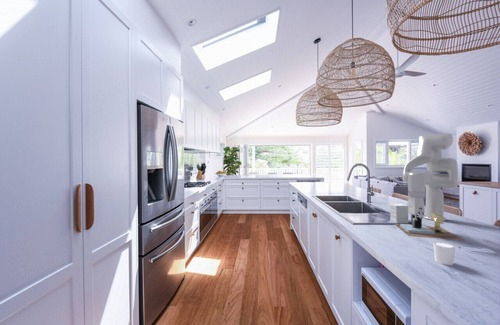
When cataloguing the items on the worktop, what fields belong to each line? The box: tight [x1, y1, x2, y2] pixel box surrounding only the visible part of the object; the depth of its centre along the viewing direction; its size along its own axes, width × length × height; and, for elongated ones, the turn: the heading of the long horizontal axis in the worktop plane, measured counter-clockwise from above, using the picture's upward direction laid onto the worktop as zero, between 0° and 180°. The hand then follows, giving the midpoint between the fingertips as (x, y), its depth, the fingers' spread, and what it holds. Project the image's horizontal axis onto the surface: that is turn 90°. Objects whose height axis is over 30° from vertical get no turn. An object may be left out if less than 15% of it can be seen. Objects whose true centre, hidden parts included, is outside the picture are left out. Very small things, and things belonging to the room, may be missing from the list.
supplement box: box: [389, 203, 409, 224], centre depth 141 cm, size 7×7×13 cm
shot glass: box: [432, 241, 457, 266], centre depth 89 cm, size 7×7×7 cm
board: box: [394, 223, 465, 241], centre depth 122 cm, size 22×24×2 cm
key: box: [431, 213, 448, 233], centre depth 120 cm, size 2×11×9 cm, turn 162°
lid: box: [399, 218, 435, 235], centre depth 124 cm, size 12×12×6 cm
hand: (416, 226), depth 124 cm, fingers closed on lid, 3 cm apart
